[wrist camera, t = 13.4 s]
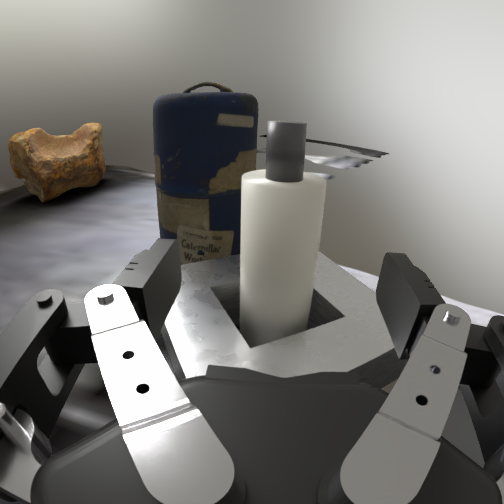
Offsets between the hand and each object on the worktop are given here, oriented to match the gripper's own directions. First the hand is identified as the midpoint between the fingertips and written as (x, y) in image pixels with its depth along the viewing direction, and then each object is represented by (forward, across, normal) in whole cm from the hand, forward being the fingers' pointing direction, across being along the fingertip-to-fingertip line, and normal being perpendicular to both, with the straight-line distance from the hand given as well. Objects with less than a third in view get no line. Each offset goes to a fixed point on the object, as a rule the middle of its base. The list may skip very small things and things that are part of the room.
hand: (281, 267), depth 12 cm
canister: (+18, +7, +10) cm, 22 cm away
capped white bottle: (+6, 0, +10) cm, 12 cm away
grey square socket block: (+6, 0, +10) cm, 12 cm away
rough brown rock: (+44, +45, +10) cm, 64 cm away
